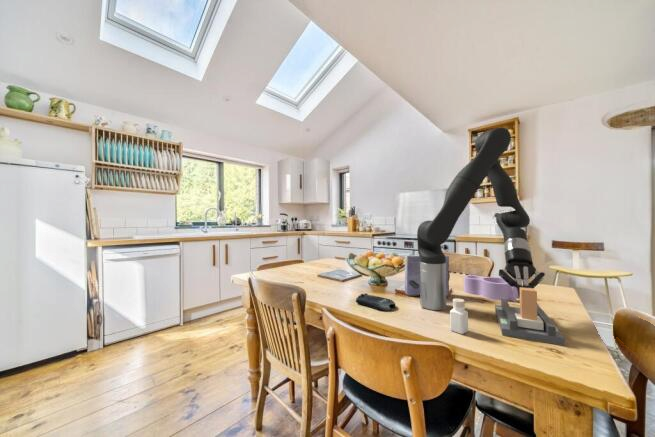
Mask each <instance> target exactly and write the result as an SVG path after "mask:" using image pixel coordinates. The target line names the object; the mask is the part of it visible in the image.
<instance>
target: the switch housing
mask: <svg viewBox="0 0 655 437" xmlns="http://www.w3.org/2000/svg"><path fill="white" fill-rule="evenodd" d="M494 312H495V316H496V319H497V321H498V326H499V329H500V332H501V335H502V336H505V337H511V338H517V339H524V340H530V341H534V342H540V343H547V344H553V345H560V346H565V347H566V338H565V336H564V335H563V334H562V333H561V331H560V330H559V328H557V326H556V325H555V324H554V322H553V320H552V319H551V318H550V316H548V314H547V313H546V312H545V310H543V309H542V307H541V306H540V305H539V304H538V303H537V316H539V317H540V318H541V320H542V321H543V326H544V330H537V329H530V328H524V327H517V321H516V319H515V313H519V314H520V307H517V306H510V303H509V302H508V301H507V300H506V299H502V298H501V300H500V305H499V304H495V305H494Z"/></svg>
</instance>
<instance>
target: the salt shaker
mask: <svg viewBox="0 0 655 437" xmlns="http://www.w3.org/2000/svg"><path fill="white" fill-rule="evenodd" d="M465 303H466V302H465V300H464V299H462V298H453V299H452V307H453V308H452V309H451V310H449V329H450V331H452V332H455V333H456V334H457V333H458V334H461V335H463V334H465V333H467V332H468V331H469V312H468V310H465V306H466V304H465Z"/></svg>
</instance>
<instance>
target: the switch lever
mask: <svg viewBox="0 0 655 437" xmlns="http://www.w3.org/2000/svg"><path fill="white" fill-rule="evenodd" d="M537 304H538V291H537V290H536V289H535V288H522V287H520V297H519V308H520V314H519V313H515V319H516V321H517V327H524V328H530V329H537V330H544V326H543V321H542V320H541V318H540V317H539V316H537Z"/></svg>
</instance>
